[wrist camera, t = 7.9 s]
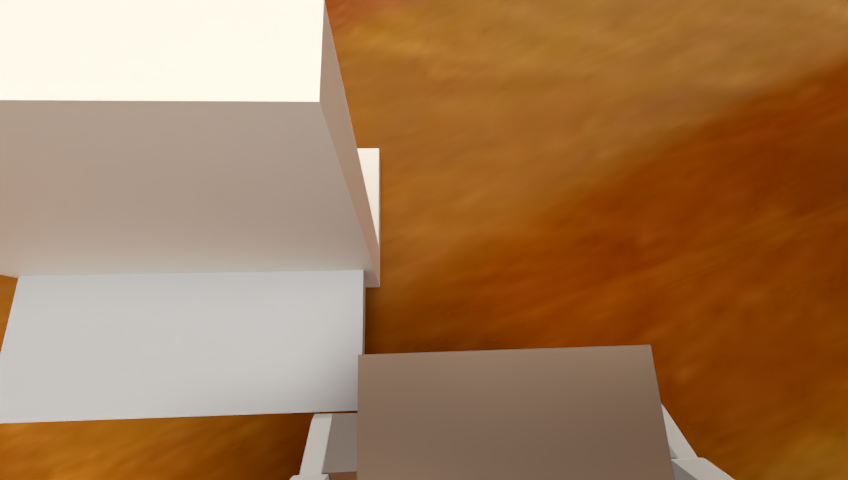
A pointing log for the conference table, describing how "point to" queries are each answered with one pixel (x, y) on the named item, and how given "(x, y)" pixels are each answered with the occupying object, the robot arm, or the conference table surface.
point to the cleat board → (180, 211)
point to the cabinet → (512, 415)
